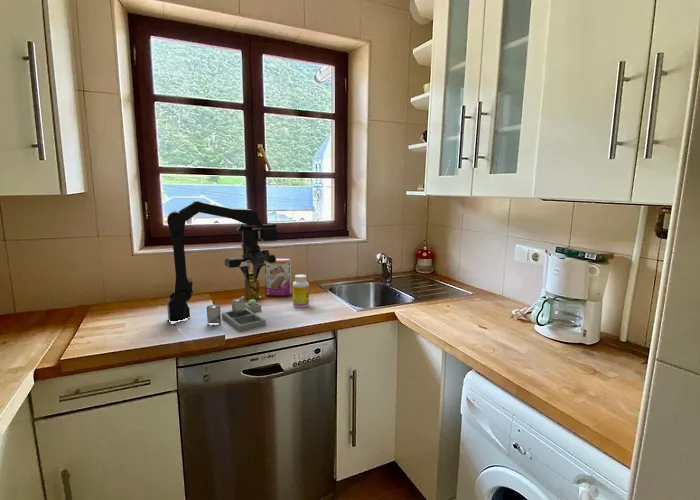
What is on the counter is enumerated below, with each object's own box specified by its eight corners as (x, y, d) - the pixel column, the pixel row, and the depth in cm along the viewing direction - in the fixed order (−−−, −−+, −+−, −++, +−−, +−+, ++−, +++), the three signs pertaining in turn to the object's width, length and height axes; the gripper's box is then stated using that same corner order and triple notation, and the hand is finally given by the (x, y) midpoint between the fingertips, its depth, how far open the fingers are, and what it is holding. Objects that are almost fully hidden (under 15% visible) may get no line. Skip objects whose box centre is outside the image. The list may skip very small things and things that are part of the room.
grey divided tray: (239, 333, 128) (239, 326, 128) (221, 319, 141) (221, 312, 141) (265, 327, 134) (265, 320, 133) (246, 314, 147) (246, 307, 147)
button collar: (249, 314, 147) (248, 307, 146) (244, 311, 151) (243, 303, 150) (261, 311, 150) (261, 304, 149) (256, 308, 154) (255, 301, 153)
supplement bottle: (307, 308, 154) (307, 277, 152) (291, 308, 154) (291, 277, 152) (309, 303, 161) (309, 273, 159) (294, 303, 161) (293, 273, 159)
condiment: (259, 301, 163) (258, 274, 161) (239, 302, 162) (238, 274, 160) (261, 296, 170) (260, 270, 168) (241, 297, 169) (240, 270, 167)
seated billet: (235, 321, 137) (234, 302, 136) (230, 318, 141) (229, 299, 140) (247, 319, 140) (246, 300, 139) (242, 315, 144) (241, 297, 142)
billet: (210, 328, 132) (209, 309, 131) (205, 324, 136) (204, 306, 134) (222, 325, 135) (222, 307, 134) (218, 322, 138) (217, 303, 137)
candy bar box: (265, 296, 170) (264, 260, 168) (266, 293, 175) (265, 258, 173) (290, 296, 171) (289, 260, 168) (291, 293, 176) (290, 258, 173)
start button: (250, 309, 148) (250, 302, 147) (247, 307, 150) (247, 300, 150) (257, 308, 150) (257, 300, 149) (254, 306, 152) (254, 299, 151)
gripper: (234, 247, 133) (236, 290, 136) (282, 242, 145) (282, 282, 147) (223, 243, 142) (225, 283, 145) (269, 239, 153) (270, 277, 156)
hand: (251, 281), depth 148 cm, fingers open, 3 cm apart
